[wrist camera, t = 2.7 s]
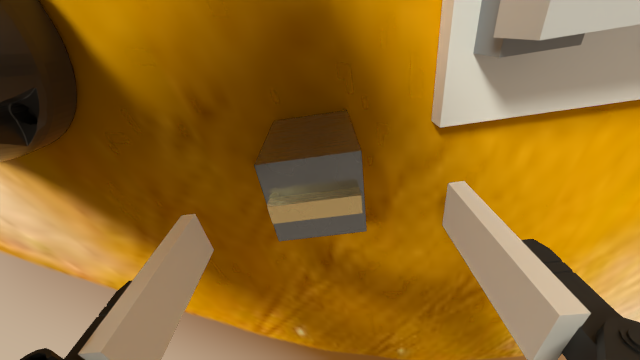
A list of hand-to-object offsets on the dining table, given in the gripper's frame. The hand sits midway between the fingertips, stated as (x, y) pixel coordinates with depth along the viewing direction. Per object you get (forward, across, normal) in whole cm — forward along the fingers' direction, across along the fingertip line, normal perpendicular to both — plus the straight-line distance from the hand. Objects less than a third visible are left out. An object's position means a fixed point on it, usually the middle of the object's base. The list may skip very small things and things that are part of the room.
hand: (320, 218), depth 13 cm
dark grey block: (+8, 0, 0) cm, 8 cm away
